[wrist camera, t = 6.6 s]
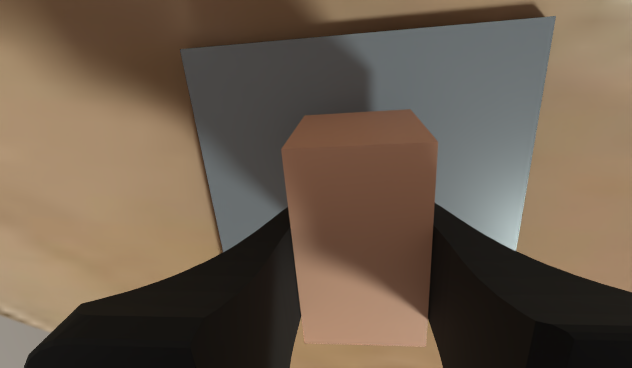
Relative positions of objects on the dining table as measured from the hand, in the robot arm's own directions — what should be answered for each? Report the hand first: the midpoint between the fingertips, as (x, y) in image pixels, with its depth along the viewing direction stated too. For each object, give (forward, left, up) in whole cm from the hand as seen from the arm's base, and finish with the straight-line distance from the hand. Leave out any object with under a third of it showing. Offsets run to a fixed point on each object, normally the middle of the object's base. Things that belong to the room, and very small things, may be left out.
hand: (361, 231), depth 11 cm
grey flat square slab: (0, 0, -4) cm, 4 cm away
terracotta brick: (0, -1, -2) cm, 2 cm away
